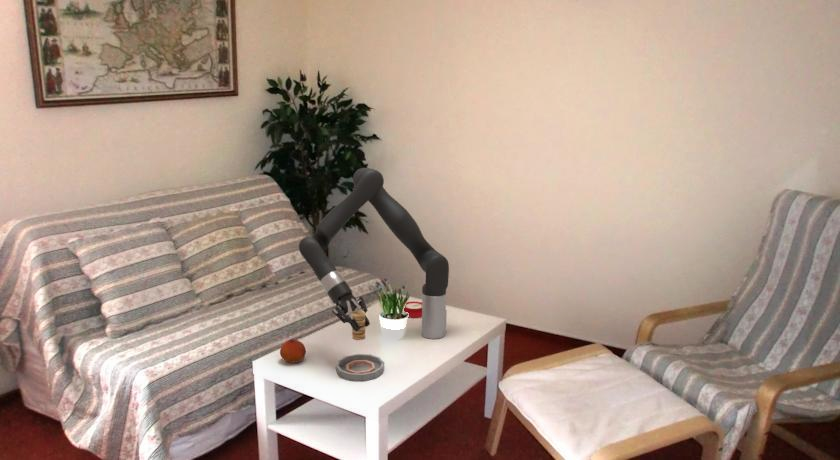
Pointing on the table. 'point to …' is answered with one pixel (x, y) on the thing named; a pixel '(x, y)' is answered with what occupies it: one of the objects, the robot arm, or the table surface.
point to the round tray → (360, 367)
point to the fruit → (292, 351)
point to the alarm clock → (414, 309)
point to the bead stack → (360, 319)
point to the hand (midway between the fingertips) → (363, 327)
